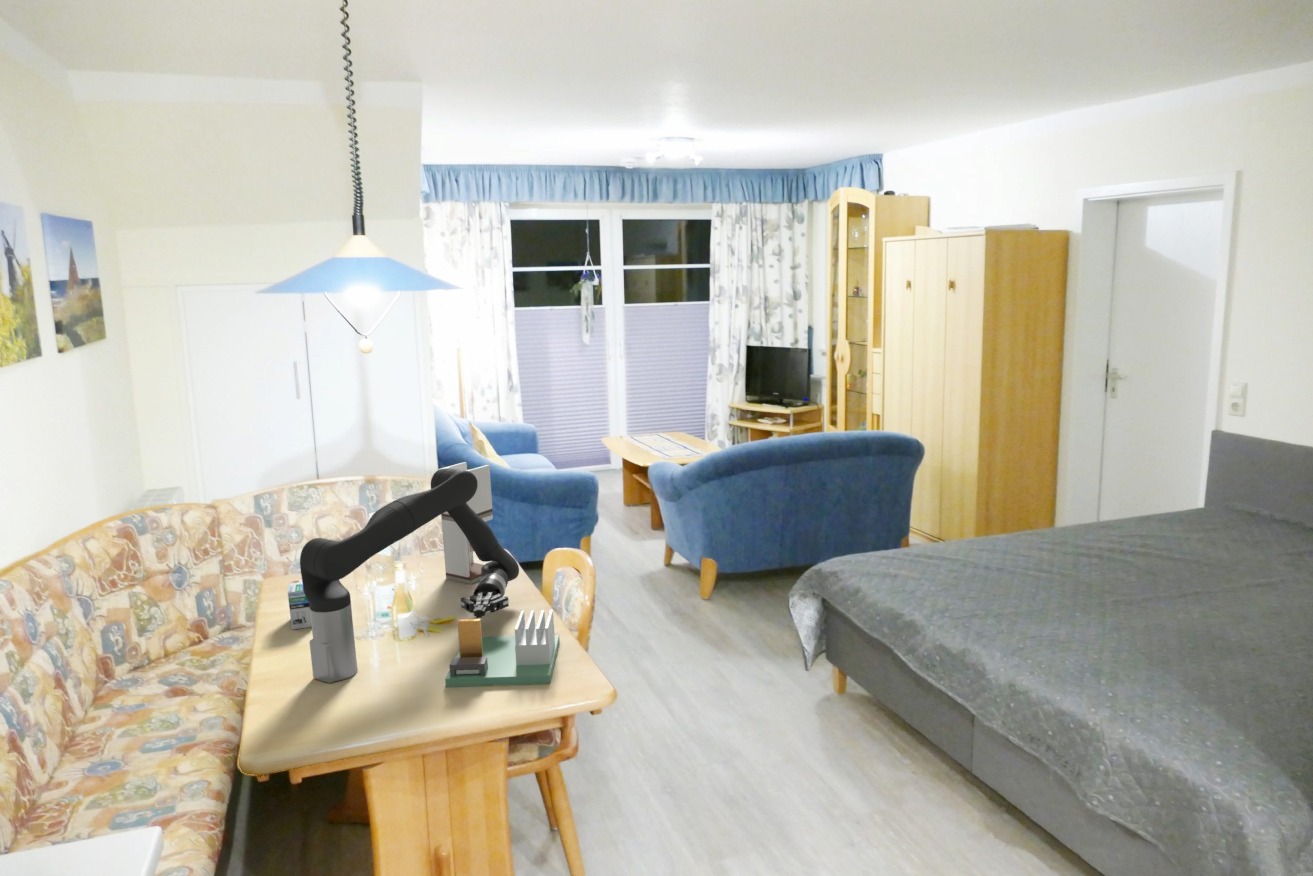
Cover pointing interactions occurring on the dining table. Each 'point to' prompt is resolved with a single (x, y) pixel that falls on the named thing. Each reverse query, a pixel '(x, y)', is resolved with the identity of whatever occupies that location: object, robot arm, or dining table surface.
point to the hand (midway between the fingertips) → (478, 614)
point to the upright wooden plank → (470, 641)
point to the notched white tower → (455, 541)
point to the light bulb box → (298, 605)
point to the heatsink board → (511, 656)
